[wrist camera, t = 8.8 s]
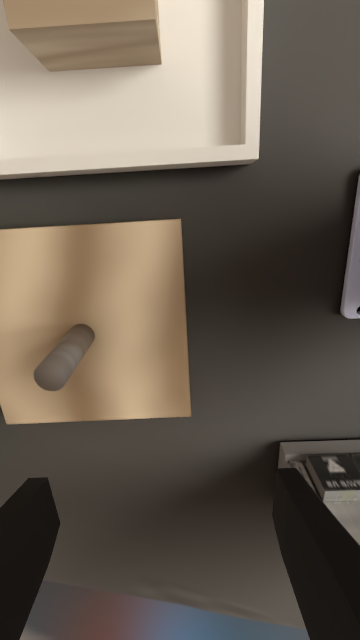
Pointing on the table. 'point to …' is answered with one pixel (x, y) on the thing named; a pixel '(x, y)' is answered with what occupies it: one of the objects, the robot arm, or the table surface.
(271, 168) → the table surface
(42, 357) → the tan base plate
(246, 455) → the table surface
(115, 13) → the collar
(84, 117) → the tray
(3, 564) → the robot arm
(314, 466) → the tall grey upright box
